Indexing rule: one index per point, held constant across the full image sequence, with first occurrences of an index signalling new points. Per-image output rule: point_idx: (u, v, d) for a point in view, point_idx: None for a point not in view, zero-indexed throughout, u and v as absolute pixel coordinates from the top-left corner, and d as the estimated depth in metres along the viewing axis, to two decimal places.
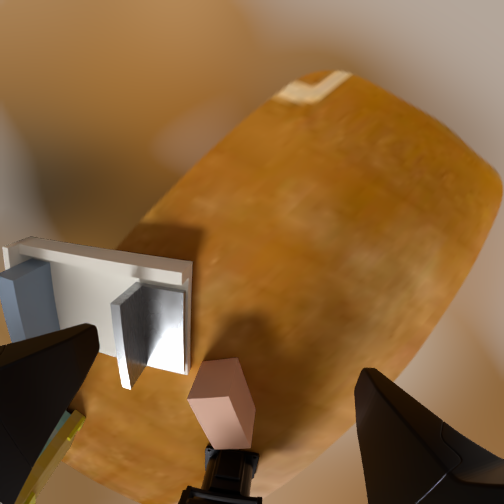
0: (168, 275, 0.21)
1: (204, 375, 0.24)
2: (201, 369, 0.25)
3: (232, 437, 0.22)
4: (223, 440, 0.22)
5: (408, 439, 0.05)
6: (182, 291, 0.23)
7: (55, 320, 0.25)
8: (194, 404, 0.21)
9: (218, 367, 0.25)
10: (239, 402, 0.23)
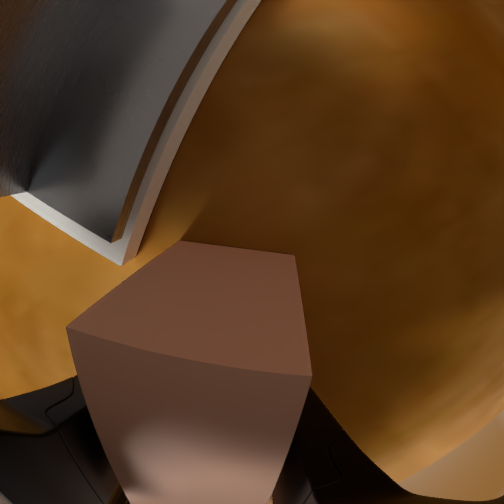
0: None
1: (177, 268, 0.07)
2: (170, 253, 0.07)
3: None
4: None
5: (292, 442, 0.05)
6: None
7: None
8: (95, 370, 0.04)
9: (233, 261, 0.07)
10: None
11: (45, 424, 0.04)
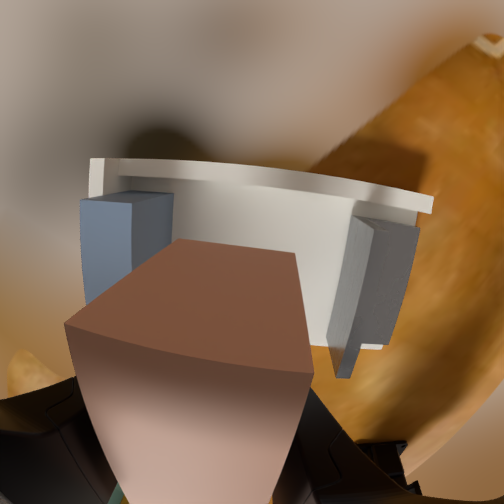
0: (418, 199, 0.14)
1: (176, 265, 0.06)
2: (170, 251, 0.07)
3: None
4: None
5: (292, 442, 0.05)
6: (415, 226, 0.16)
7: None
8: (93, 368, 0.04)
9: (233, 259, 0.07)
10: None
11: (45, 424, 0.04)
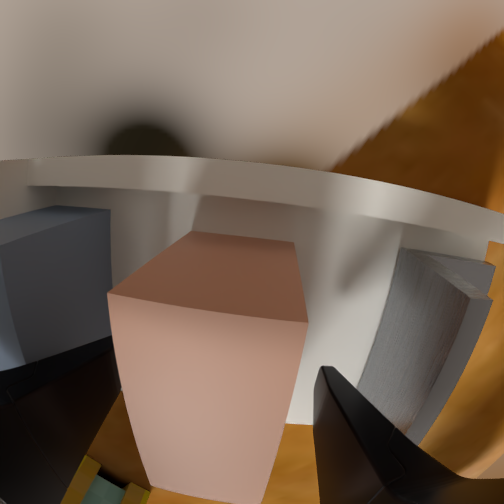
0: (503, 225, 0.07)
1: (193, 251, 0.08)
2: (186, 241, 0.09)
3: (222, 477, 0.06)
4: (189, 478, 0.06)
5: (352, 443, 0.05)
6: (488, 263, 0.09)
7: None
8: (130, 330, 0.05)
9: (240, 246, 0.09)
10: None
11: (4, 398, 0.04)
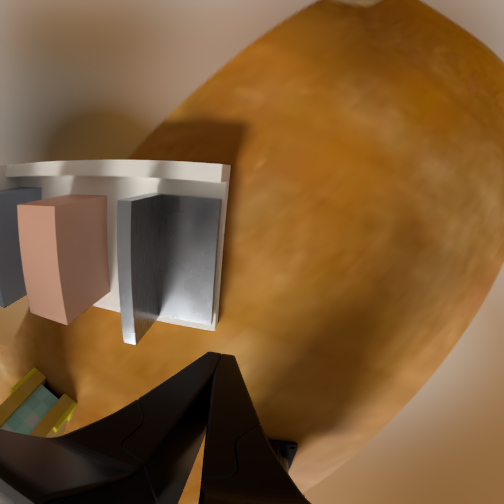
0: (202, 169, 0.15)
1: (56, 198, 0.16)
2: (60, 196, 0.17)
3: (48, 294, 0.14)
4: (40, 297, 0.14)
5: None
6: (218, 198, 0.17)
7: None
8: (21, 216, 0.13)
9: (77, 196, 0.17)
10: (74, 242, 0.15)
11: (127, 460, 0.03)
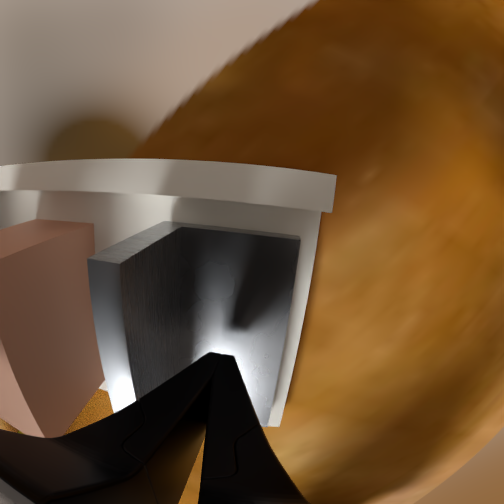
0: (295, 183, 0.07)
1: (7, 231, 0.08)
2: (17, 225, 0.09)
3: (11, 405, 0.06)
4: (2, 403, 0.06)
5: None
6: (294, 237, 0.09)
7: None
8: None
9: (43, 227, 0.09)
10: (38, 322, 0.07)
11: (127, 461, 0.03)
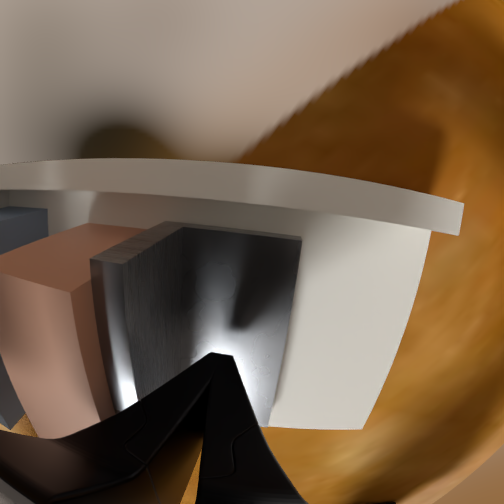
0: (436, 209, 0.07)
1: (64, 238, 0.08)
2: (71, 230, 0.09)
3: None
4: None
5: None
6: (295, 237, 0.09)
7: None
8: None
9: (109, 235, 0.09)
10: None
11: (130, 462, 0.03)
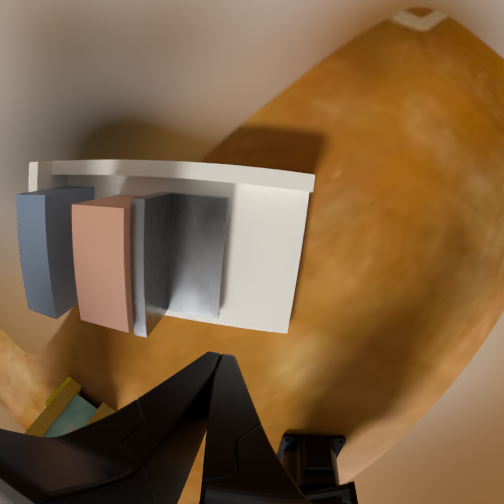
0: (295, 178, 0.16)
1: (110, 198, 0.17)
2: (112, 196, 0.18)
3: (107, 300, 0.15)
4: (96, 304, 0.15)
5: None
6: (225, 197, 0.18)
7: None
8: (77, 217, 0.14)
9: None
10: None
11: (126, 460, 0.03)
